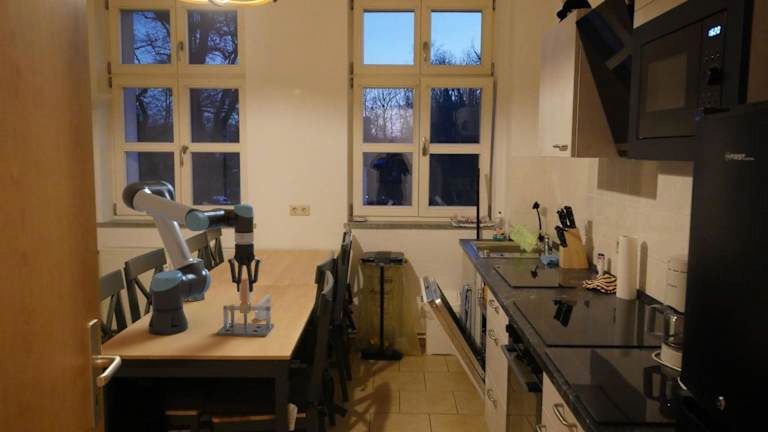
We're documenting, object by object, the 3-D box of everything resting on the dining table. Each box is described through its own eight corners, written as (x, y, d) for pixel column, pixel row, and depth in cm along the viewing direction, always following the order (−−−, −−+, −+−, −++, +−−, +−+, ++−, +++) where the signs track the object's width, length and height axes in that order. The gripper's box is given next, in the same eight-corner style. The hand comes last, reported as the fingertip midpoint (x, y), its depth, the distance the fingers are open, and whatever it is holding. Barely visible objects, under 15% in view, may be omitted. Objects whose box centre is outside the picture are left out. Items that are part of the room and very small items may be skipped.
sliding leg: (240, 326, 222) (239, 279, 220) (242, 324, 226) (241, 278, 224) (248, 327, 222) (248, 280, 220) (251, 324, 226) (250, 278, 224)
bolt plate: (216, 335, 216) (216, 332, 216) (226, 325, 229) (226, 322, 229) (266, 336, 215) (266, 333, 215) (274, 326, 228) (274, 323, 228)
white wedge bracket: (278, 309, 245) (270, 295, 241) (262, 325, 239) (254, 310, 235) (273, 308, 247) (265, 293, 243) (257, 323, 241) (249, 308, 237)
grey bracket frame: (223, 327, 223) (223, 305, 222) (225, 325, 226) (224, 304, 225) (269, 328, 222) (269, 306, 222) (270, 326, 225) (270, 304, 224)
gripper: (222, 243, 217) (223, 301, 219) (260, 244, 217) (261, 302, 219) (228, 241, 225) (229, 297, 227) (265, 241, 224) (266, 297, 226)
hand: (245, 299), depth 223 cm, fingers closed on sliding leg, 2 cm apart
